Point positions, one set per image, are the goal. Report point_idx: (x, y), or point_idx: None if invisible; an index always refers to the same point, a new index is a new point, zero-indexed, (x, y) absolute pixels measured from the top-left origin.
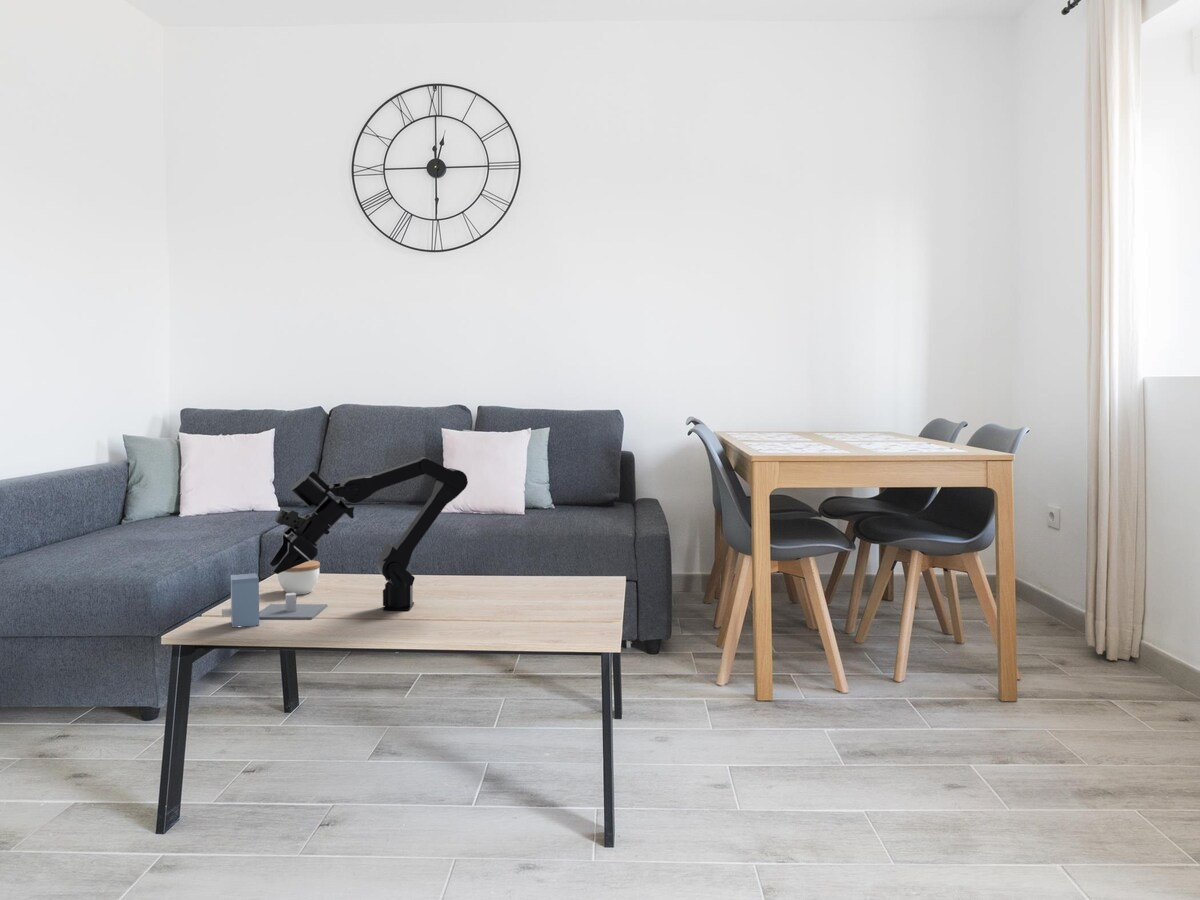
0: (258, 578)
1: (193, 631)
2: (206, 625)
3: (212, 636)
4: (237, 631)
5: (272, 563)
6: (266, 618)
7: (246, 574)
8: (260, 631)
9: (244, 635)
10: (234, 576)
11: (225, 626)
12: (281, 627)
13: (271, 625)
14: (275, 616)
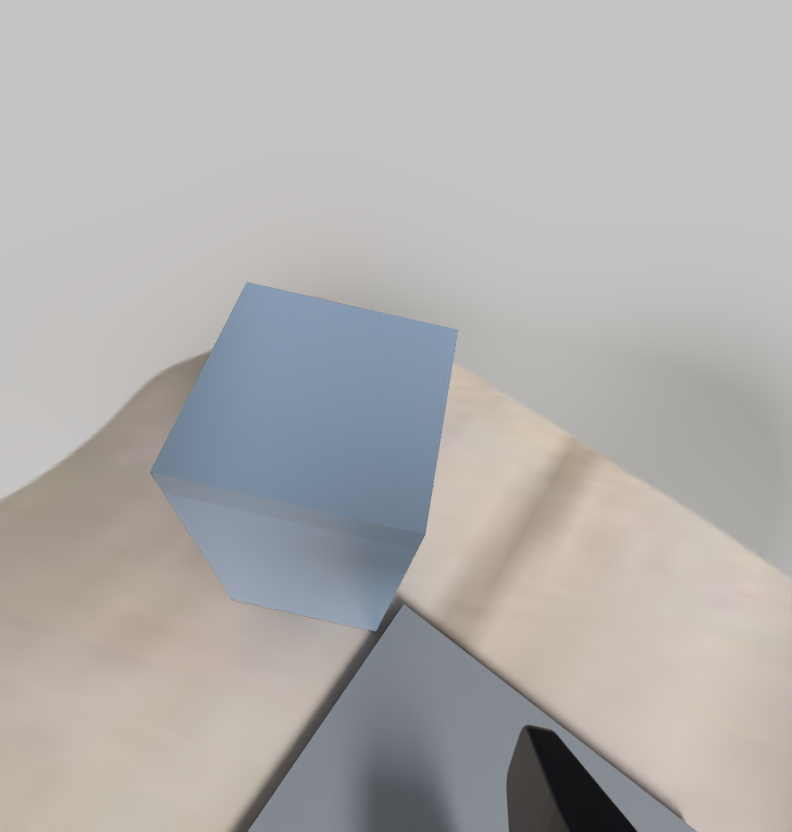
0: (153, 472)
1: None
2: None
3: None
4: None
5: (521, 769)
6: (349, 684)
7: (409, 430)
8: (100, 566)
9: (98, 477)
10: (382, 334)
11: None
12: (75, 708)
13: (176, 664)
14: (323, 746)
